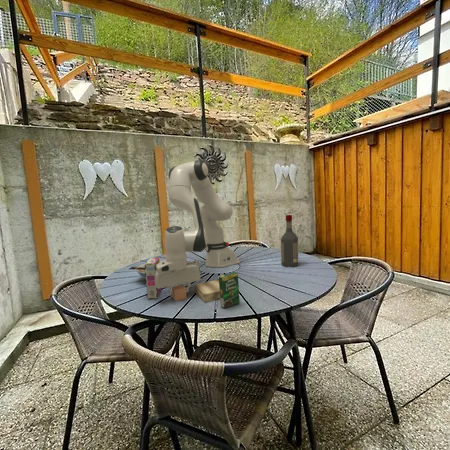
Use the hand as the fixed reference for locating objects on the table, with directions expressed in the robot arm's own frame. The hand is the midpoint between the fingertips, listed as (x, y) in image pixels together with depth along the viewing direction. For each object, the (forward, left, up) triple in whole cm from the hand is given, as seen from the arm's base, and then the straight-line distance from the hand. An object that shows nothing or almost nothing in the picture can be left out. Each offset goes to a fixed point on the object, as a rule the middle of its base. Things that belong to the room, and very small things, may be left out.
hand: (179, 293), depth 118 cm
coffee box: (-16, +19, -2) cm, 25 cm away
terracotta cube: (0, 0, -2) cm, 2 cm away
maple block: (-14, +4, -2) cm, 15 cm away
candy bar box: (+9, -10, -2) cm, 14 cm away
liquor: (-71, -12, -2) cm, 72 cm away
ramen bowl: (+3, -32, -2) cm, 32 cm away
